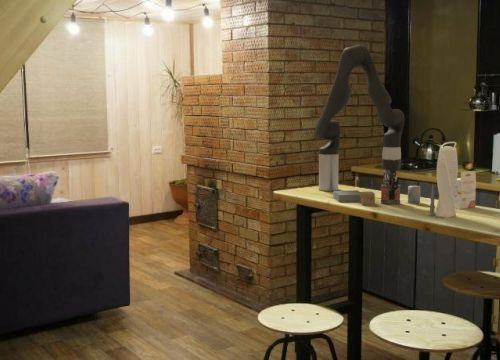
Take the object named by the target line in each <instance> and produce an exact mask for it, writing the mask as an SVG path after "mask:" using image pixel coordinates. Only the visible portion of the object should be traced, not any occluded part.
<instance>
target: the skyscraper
mask: <svg viewBox="0 0 500 360" xmlns="http://www.w3.org/2000/svg"><path fill="white" fill-rule="evenodd" d="M447 144H454V145H453V146H448V145H447ZM445 145H446V146H445ZM456 146H457V142H456V141H446V142H444V143H443V144H442V145H441V146H440V147H439V151H438V156H437V162H436V182H437V190H438V201H437V206H435V198H436V195H435V194H434V192H435V187H434V183H433V182H432V187H431V194H430V205H429V211H430V212H429V215H428V216H429V217H433V216H434V218H438V217H439V218H438V219H443V218H445V219H450V218H455V216H456V217H457V213H456V212H457V211H456V208H455V205H454V198H453V193H454V190H455V186H456V181H457V178H458V174H459V173H458V172H459V165H458V164H459V161H458V151H457V147H456ZM449 217H450V218H449Z"/></svg>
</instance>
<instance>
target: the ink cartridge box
mask: <svg viewBox="0 0 500 360" xmlns="http://www.w3.org/2000/svg"><path fill="white" fill-rule="evenodd" d="M476 188H477V175H476V171H475V170H471V171H462V172H460V177H457V181H456V186H455V190H454V193H453V198H454V205H455V209H459V210H463V209H470V208H475V207H476V196H477V195H476V194H477V193H476V190H477V189H476Z"/></svg>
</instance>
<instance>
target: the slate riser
mask: <svg viewBox="0 0 500 360" xmlns="http://www.w3.org/2000/svg"><path fill="white" fill-rule="evenodd" d="M360 192H361V191H359V190H355V189H354V190H334V191H333V192H332V194H333V199H334V200H336V201H337V202H339V203H347V202H348V203H350V202H360Z"/></svg>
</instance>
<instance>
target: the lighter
mask: <svg viewBox="0 0 500 360" xmlns="http://www.w3.org/2000/svg"><path fill="white" fill-rule="evenodd" d="M384 182H386V184H384ZM382 183H383V184H380V188H381V189H380V190H381V191H380V198H381V199H380V203H381V204H401V184H398V188H397V190H396V191H395V199H394V200H390V199H389V191H390V190H389V185H388V179H384V178H383V180H382ZM391 183H392V182H391ZM393 187H394V185H393Z"/></svg>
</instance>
